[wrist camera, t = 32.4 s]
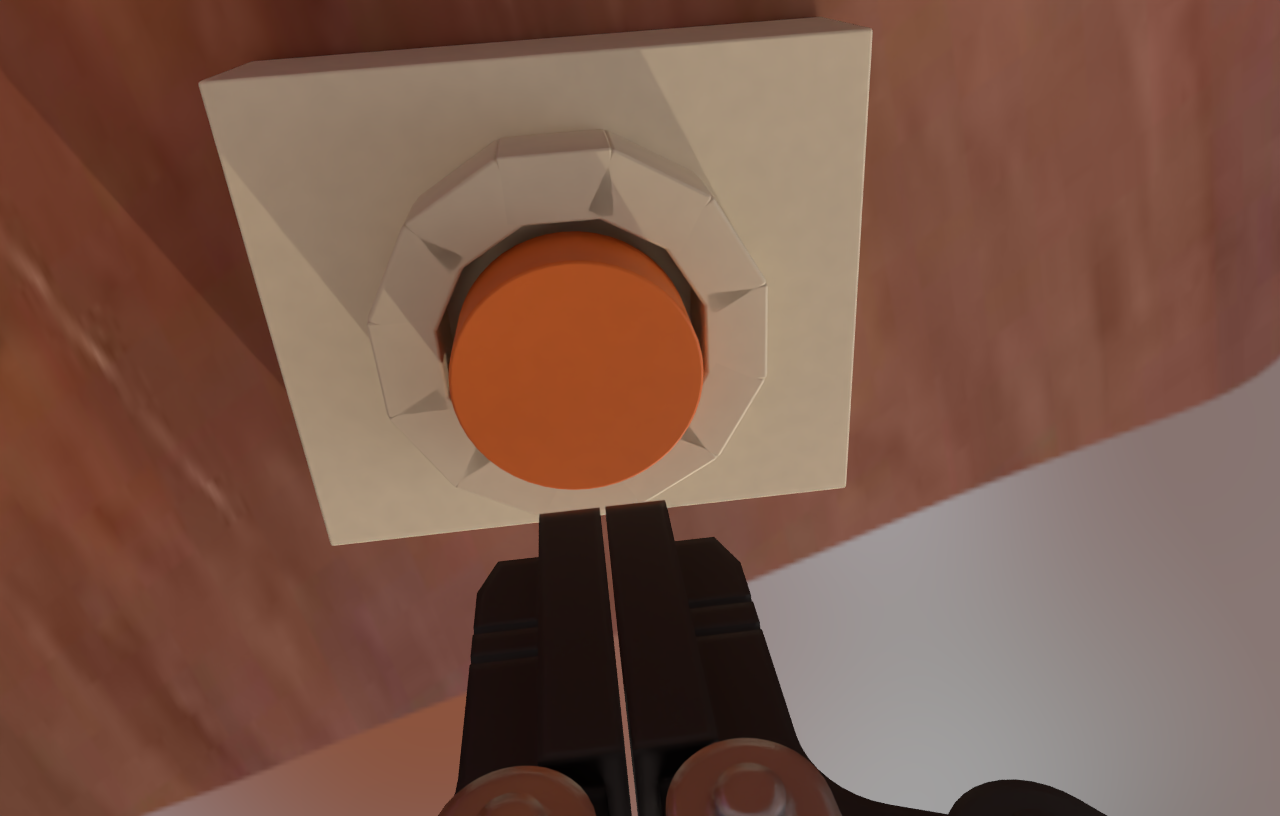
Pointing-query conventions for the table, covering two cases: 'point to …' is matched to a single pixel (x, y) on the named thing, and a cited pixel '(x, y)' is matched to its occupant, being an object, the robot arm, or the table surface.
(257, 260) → the push button base
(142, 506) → the table surface
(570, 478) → the push button switch
